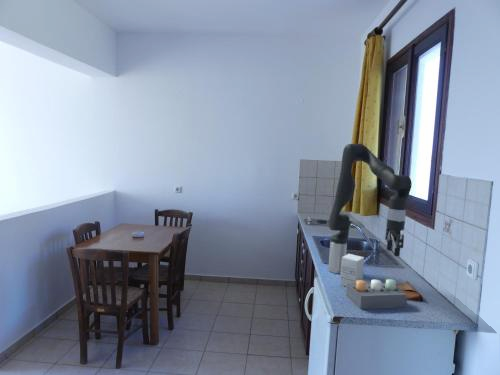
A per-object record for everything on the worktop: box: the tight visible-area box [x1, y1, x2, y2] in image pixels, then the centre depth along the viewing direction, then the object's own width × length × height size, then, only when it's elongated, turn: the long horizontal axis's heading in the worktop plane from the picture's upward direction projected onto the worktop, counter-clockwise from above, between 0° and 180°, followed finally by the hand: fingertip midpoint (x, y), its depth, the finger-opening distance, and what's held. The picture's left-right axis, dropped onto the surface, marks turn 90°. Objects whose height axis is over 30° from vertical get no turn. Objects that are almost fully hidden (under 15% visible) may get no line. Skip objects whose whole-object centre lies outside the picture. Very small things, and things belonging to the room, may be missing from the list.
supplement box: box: [339, 253, 365, 288], centre depth 181 cm, size 9×9×15 cm
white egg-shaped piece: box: [370, 279, 383, 291], centre depth 162 cm, size 5×5×6 cm
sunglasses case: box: [396, 280, 424, 303], centre depth 173 cm, size 18×7×7 cm
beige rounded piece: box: [356, 279, 368, 292], centre depth 160 cm, size 5×5×6 cm
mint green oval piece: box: [385, 278, 397, 291], centre depth 163 cm, size 5×5×6 cm
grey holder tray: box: [345, 282, 407, 310], centre depth 162 cm, size 14×22×6 cm, turn 100°
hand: (392, 253), depth 160 cm, fingers open, 8 cm apart
